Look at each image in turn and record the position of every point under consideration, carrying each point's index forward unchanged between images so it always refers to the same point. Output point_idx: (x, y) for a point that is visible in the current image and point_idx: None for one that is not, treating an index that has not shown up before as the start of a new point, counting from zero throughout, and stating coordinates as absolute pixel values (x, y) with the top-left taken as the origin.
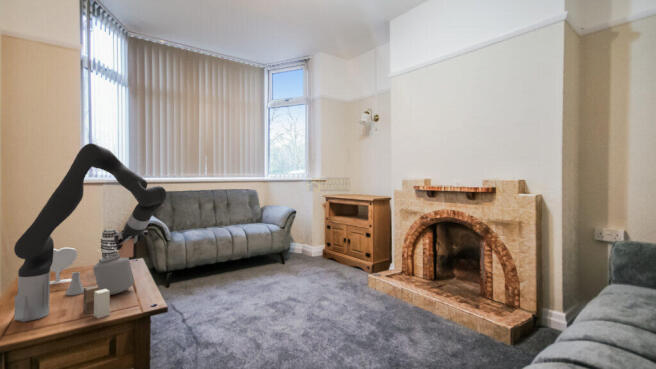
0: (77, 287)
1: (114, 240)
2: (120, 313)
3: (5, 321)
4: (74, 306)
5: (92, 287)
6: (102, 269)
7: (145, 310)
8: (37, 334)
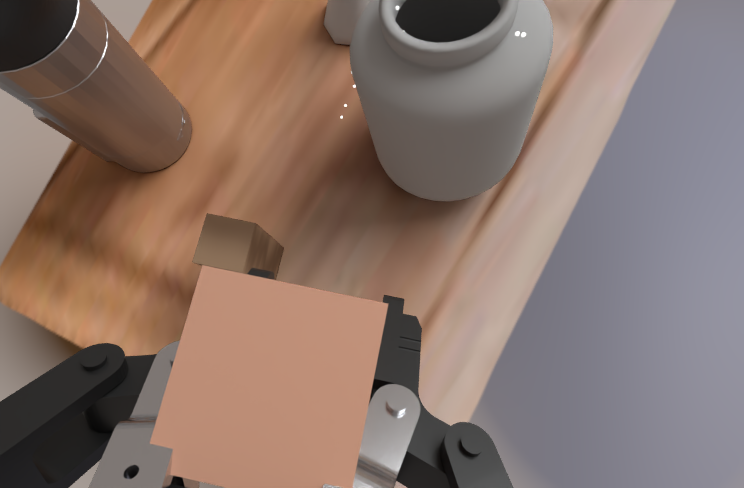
0: (348, 16)
1: (80, 371)
2: None
3: None
4: (266, 158)
5: (228, 245)
6: (361, 92)
7: None
8: (59, 308)
